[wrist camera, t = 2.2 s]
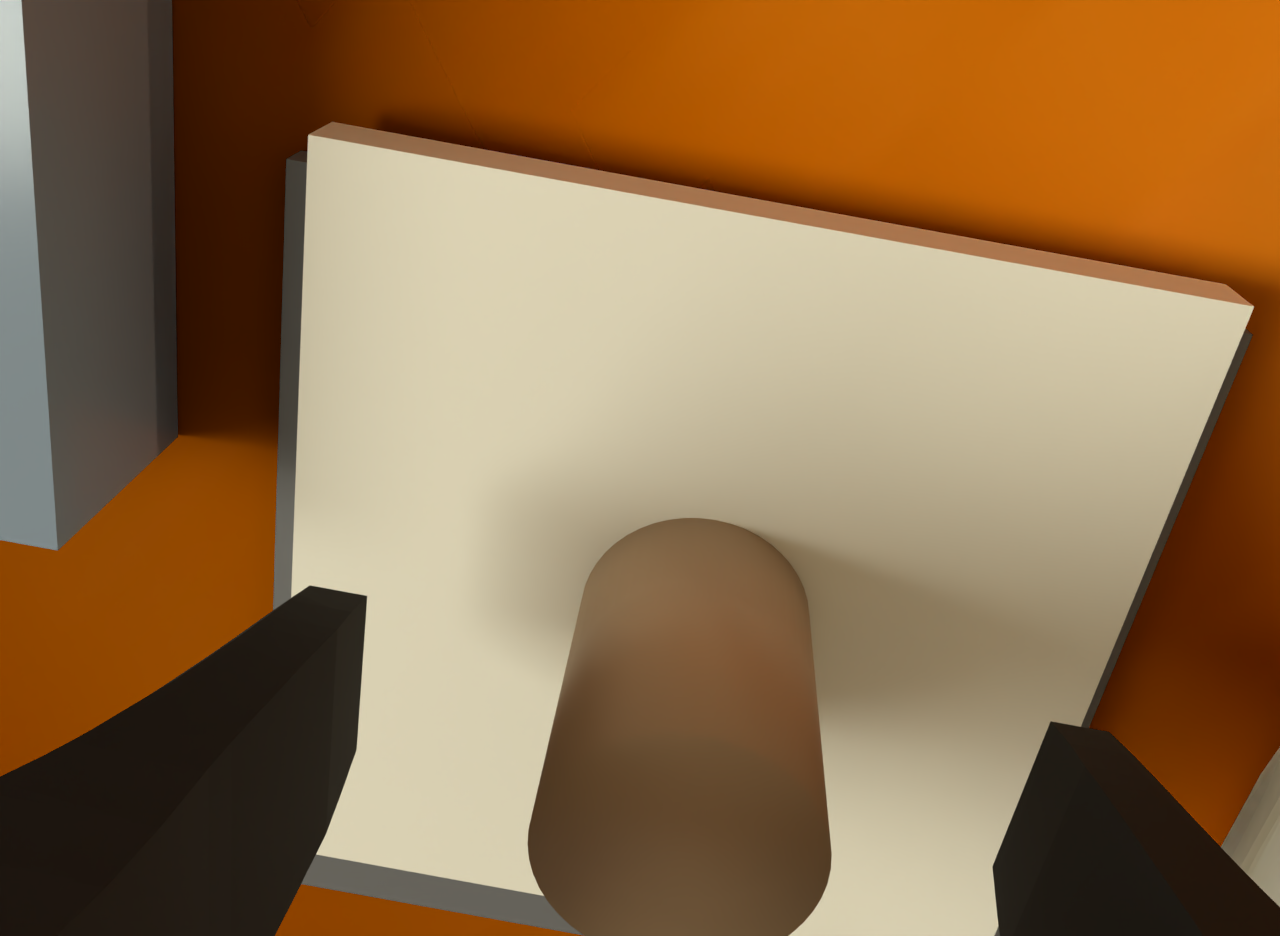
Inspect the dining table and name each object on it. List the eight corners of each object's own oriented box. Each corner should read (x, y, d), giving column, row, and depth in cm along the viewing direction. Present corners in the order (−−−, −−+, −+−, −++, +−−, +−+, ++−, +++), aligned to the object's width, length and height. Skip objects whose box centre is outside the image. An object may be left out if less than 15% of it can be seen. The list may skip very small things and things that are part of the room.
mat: (967, 978, 18) (972, 1006, 18) (277, 853, 18) (264, 877, 18) (1235, 320, 14) (1252, 334, 13) (301, 150, 14) (286, 158, 13)
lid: (968, 930, 17) (1043, 1270, 13) (301, 809, 17) (155, 1109, 13) (1226, 284, 13) (1465, 474, 9) (332, 122, 13) (127, 231, 9)
